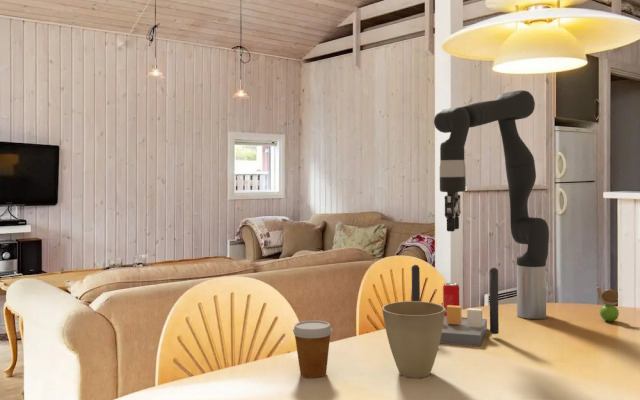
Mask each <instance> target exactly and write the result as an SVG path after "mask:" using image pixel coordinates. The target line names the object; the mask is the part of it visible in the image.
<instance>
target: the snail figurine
mask: <svg viewBox="0 0 640 400" xmlns="http://www.w3.org/2000/svg"><path fill="white" fill-rule="evenodd" d="M598 285H599V283H598V282H597V283H596V291H597V295H598V299H599V300H600V302H601V303H602V304H604V305H603V306H601V308H600V310H599V315H600V317H601V319H602V320H604V321H605V322H614V321H616V320H617V319H618V317H619V314H620V312H619V309H618V308H617V307H616V305H618V304H619V302H618V301H617V300H618V299H619V296H618V295H619V294H618V293H617V291H616V290H614V289H610V288H607V289H605V290H603V292H602V287H601V286H598Z"/></svg>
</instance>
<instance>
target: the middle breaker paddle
mask: <svg viewBox="0 0 640 400" xmlns="http://www.w3.org/2000/svg"><path fill="white" fill-rule="evenodd" d="M462 313H463V312H462V305H459V306H453V305H448V306H447V324H461V323H462Z"/></svg>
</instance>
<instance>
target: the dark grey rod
mask: <svg viewBox="0 0 640 400" xmlns="http://www.w3.org/2000/svg"><path fill="white" fill-rule="evenodd" d="M420 272H421V271H420V266H419V265H418V264H413V265H412V266H411V301H420V302H421V294H420V293H421V292H420V291H421V289H420V288H421V284H420V282H421V281H420V280H421V277H420Z"/></svg>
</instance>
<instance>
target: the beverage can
mask: <svg viewBox="0 0 640 400" xmlns="http://www.w3.org/2000/svg"><path fill="white" fill-rule="evenodd" d="M442 301H443V303H442V304H443V305H442V306H443V307H444V308H445V313H444V316H447V306H448V305H453V306H460V286H459V284H458V283H457V282H456V283H455V282H445V283H443V286H442Z"/></svg>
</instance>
